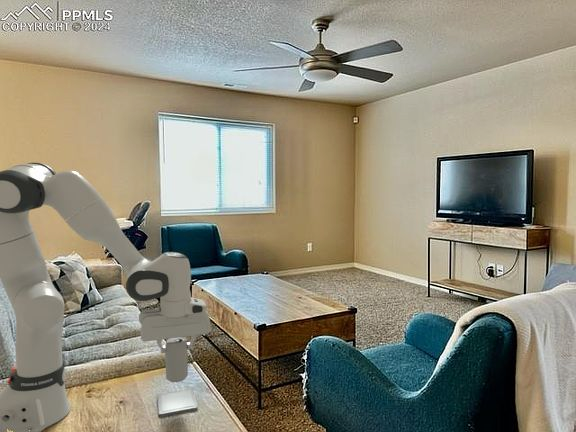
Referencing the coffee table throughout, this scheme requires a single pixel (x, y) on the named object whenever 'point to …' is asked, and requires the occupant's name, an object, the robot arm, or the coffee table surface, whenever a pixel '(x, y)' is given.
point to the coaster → (176, 402)
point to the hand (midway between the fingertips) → (176, 350)
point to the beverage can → (176, 359)
